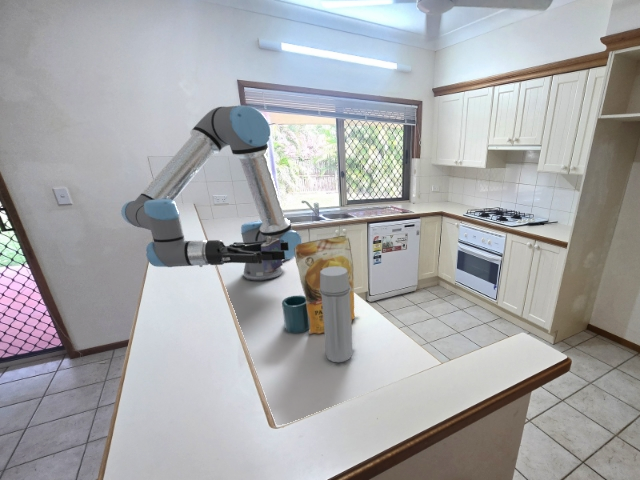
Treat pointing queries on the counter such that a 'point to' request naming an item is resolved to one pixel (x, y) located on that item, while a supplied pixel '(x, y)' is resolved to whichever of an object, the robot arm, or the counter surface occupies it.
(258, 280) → the robot arm
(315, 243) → the pancake mix bag
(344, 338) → the water bottle
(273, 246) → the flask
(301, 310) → the coffee cup
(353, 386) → the counter surface
